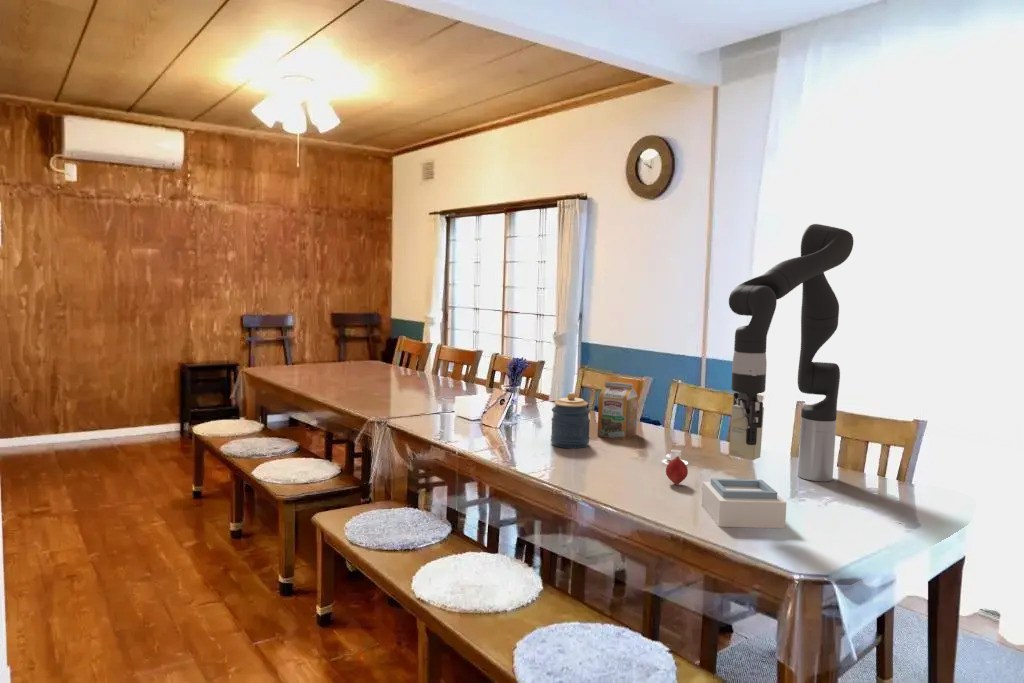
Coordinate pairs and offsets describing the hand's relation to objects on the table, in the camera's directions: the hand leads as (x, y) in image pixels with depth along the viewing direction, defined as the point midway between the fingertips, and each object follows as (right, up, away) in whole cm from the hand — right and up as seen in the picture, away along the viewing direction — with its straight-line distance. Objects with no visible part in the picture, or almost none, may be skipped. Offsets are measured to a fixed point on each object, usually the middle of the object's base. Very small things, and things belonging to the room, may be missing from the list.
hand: (745, 440), depth 163 cm
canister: (-35, -12, +71) cm, 80 cm away
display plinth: (0, -18, +2) cm, 18 cm away
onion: (-10, -16, +27) cm, 33 cm away
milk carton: (-17, -11, +87) cm, 89 cm away
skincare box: (0, -4, 0) cm, 4 cm away
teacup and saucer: (-2, -14, +52) cm, 54 cm away
